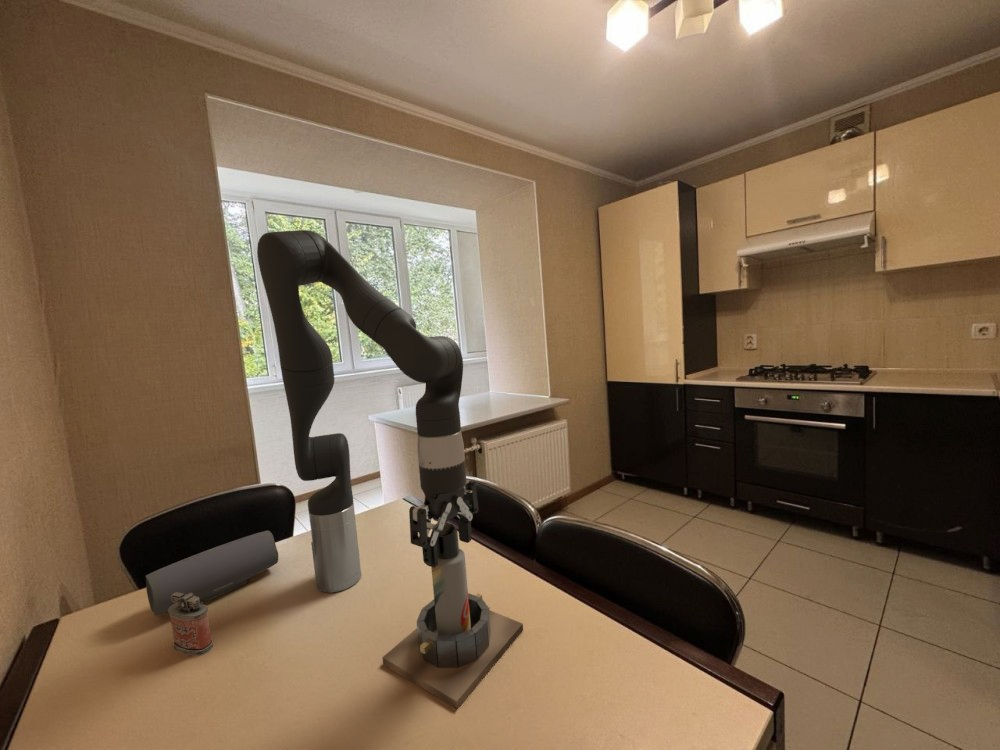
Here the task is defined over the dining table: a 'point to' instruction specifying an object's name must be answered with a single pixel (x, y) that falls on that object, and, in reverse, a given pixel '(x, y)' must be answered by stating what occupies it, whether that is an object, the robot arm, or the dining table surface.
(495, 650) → the base plate
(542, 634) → the dining table surface
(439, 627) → the lotion bottle
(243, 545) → the bluetooth speaker
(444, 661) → the ring
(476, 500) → the robot arm
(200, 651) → the lighter
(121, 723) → the dining table surface
